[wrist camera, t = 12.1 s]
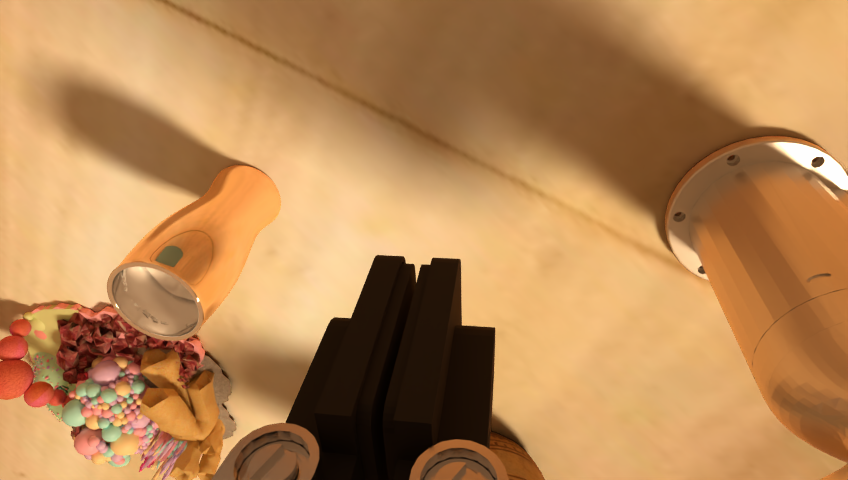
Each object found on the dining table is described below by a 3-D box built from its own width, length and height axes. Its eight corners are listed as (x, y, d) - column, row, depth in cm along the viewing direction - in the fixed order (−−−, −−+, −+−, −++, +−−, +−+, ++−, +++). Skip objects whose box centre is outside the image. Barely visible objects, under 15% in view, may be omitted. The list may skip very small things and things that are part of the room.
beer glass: (195, 170, 49) (81, 272, 36) (263, 150, 47) (167, 249, 34) (234, 236, 52) (143, 350, 39) (300, 220, 50) (225, 334, 37)
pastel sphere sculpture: (194, 293, 57) (143, 358, 49) (267, 445, 69) (235, 516, 61) (-6, 304, 62) (-80, 364, 55) (95, 443, 75) (45, 508, 67)
